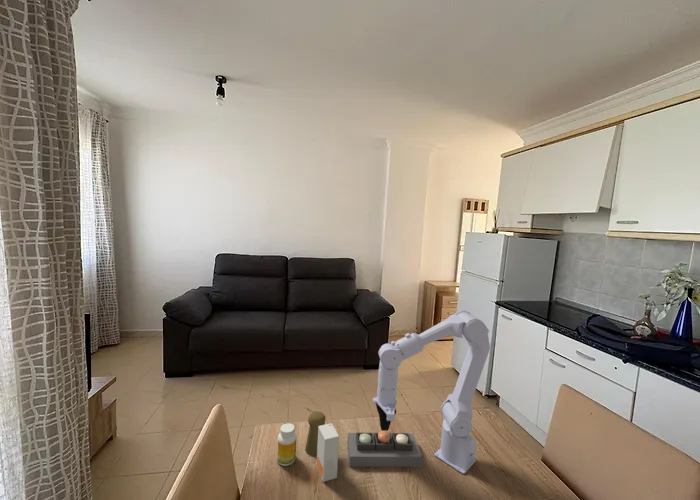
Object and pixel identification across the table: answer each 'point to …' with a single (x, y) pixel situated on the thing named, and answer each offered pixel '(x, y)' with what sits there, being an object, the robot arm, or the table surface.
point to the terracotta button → (383, 437)
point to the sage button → (365, 438)
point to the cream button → (401, 439)
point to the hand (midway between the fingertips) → (384, 429)
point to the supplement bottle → (286, 445)
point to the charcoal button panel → (383, 452)
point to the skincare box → (327, 452)
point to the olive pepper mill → (314, 432)
